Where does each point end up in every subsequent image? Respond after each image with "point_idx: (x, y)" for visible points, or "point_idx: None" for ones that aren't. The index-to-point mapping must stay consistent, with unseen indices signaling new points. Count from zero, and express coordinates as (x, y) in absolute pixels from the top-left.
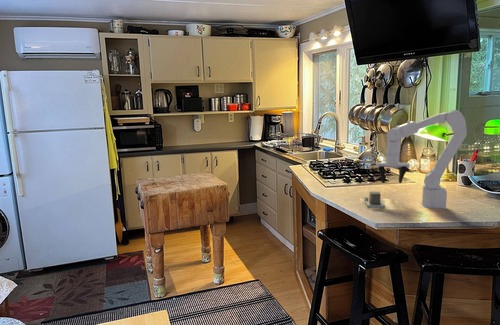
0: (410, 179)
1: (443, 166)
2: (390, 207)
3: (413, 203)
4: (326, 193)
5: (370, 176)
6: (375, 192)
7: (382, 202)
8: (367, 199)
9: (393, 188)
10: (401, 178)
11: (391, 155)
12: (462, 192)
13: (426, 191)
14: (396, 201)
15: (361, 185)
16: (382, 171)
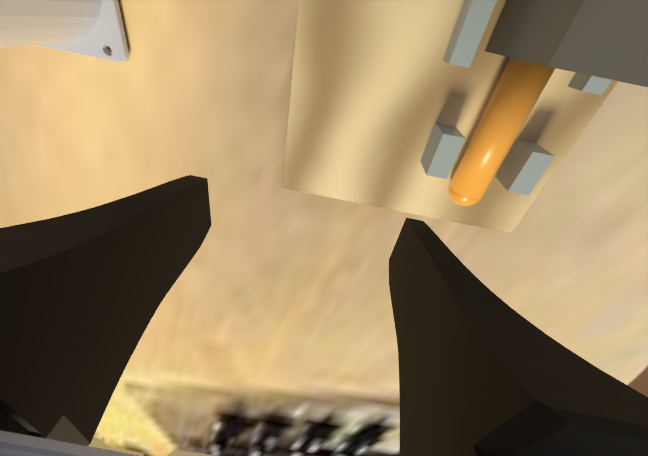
0: (137, 406)
1: None
2: None
3: (169, 83)
4: (597, 346)
5: (263, 445)
6: (637, 17)
7: (469, 17)
8: (530, 147)
9: (222, 348)
10: (152, 196)
11: None
12: None
13: None
14: (288, 121)
15: (341, 395)
16: (563, 366)
